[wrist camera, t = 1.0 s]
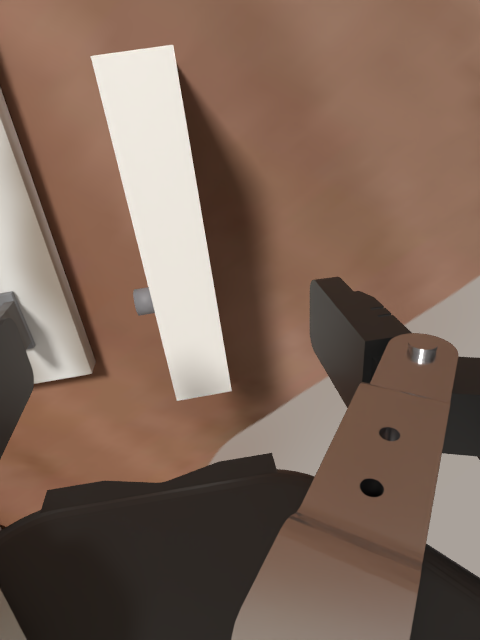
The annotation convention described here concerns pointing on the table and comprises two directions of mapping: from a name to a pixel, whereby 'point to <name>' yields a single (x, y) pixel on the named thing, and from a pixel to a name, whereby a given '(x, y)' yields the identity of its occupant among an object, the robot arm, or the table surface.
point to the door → (165, 213)
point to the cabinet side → (35, 272)
